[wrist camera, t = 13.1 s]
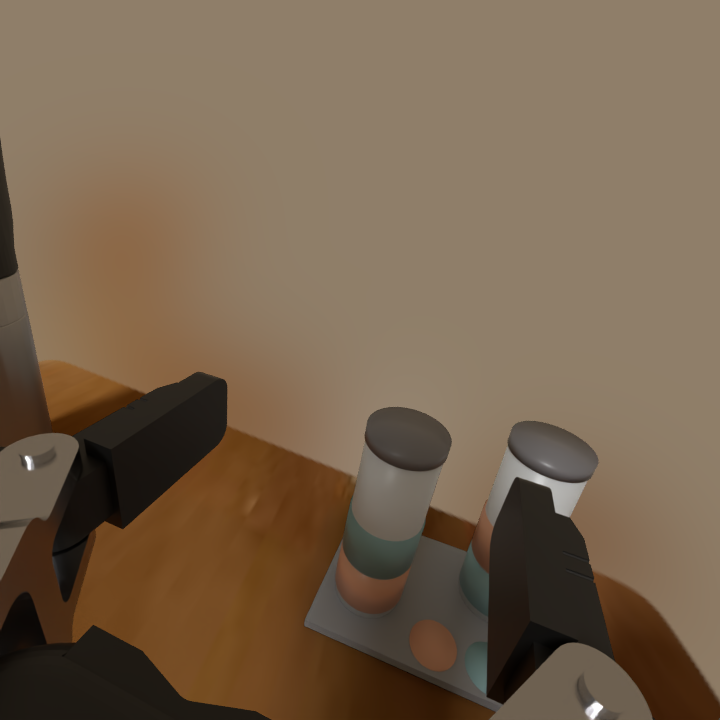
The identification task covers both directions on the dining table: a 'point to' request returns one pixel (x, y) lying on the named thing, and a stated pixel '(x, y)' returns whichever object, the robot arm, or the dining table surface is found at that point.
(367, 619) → the slate card
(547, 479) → the twin tube
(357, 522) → the slim tube
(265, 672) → the dining table surface
